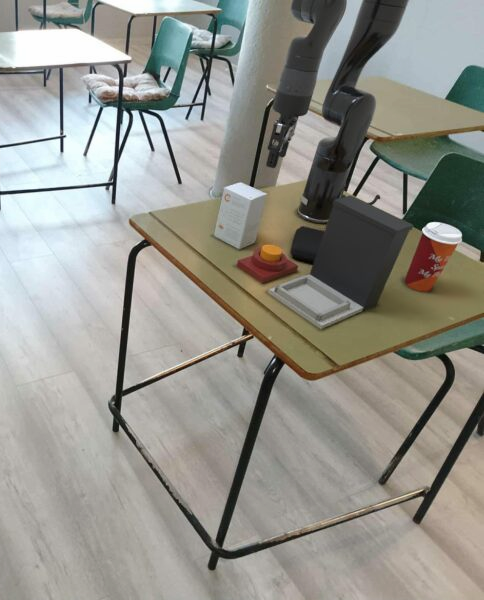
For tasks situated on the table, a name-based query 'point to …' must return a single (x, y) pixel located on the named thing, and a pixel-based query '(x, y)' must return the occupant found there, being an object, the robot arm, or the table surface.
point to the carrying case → (306, 243)
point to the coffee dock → (347, 264)
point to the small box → (240, 215)
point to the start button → (271, 253)
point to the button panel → (266, 267)
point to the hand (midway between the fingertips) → (275, 161)
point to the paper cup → (432, 255)
